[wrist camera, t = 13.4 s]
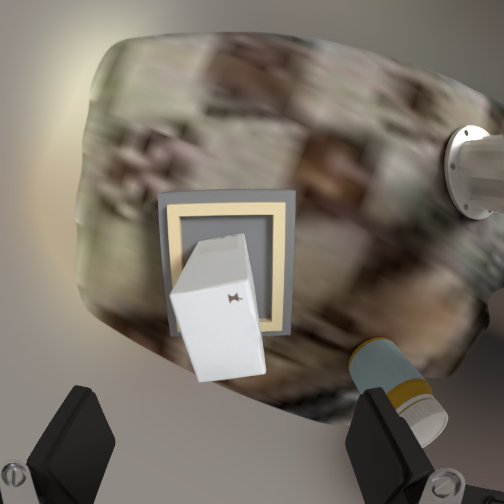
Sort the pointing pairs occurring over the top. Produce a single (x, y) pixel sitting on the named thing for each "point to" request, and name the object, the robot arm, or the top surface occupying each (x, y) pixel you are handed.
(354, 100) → the top surface
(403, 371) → the bottle
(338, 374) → the top surface
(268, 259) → the tray
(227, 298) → the skincare box
